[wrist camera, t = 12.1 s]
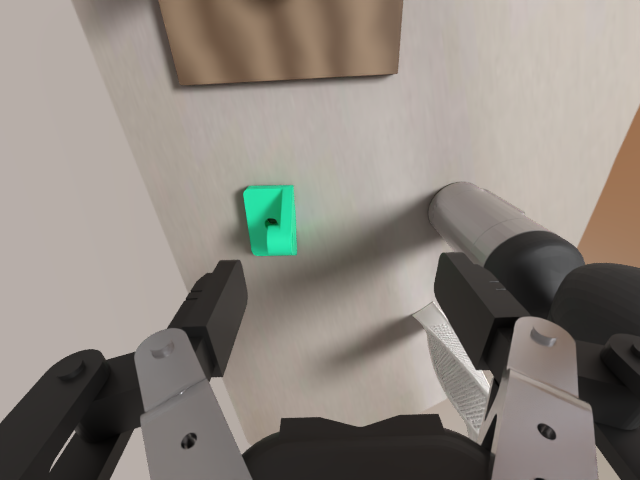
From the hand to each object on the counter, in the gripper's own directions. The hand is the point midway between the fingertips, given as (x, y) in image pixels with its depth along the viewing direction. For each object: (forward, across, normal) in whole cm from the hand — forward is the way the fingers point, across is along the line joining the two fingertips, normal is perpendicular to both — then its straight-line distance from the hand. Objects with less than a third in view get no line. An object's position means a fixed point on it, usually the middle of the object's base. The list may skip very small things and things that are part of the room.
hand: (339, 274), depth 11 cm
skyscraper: (+34, -21, +36) cm, 54 cm away
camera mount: (+34, +9, +12) cm, 37 cm away
